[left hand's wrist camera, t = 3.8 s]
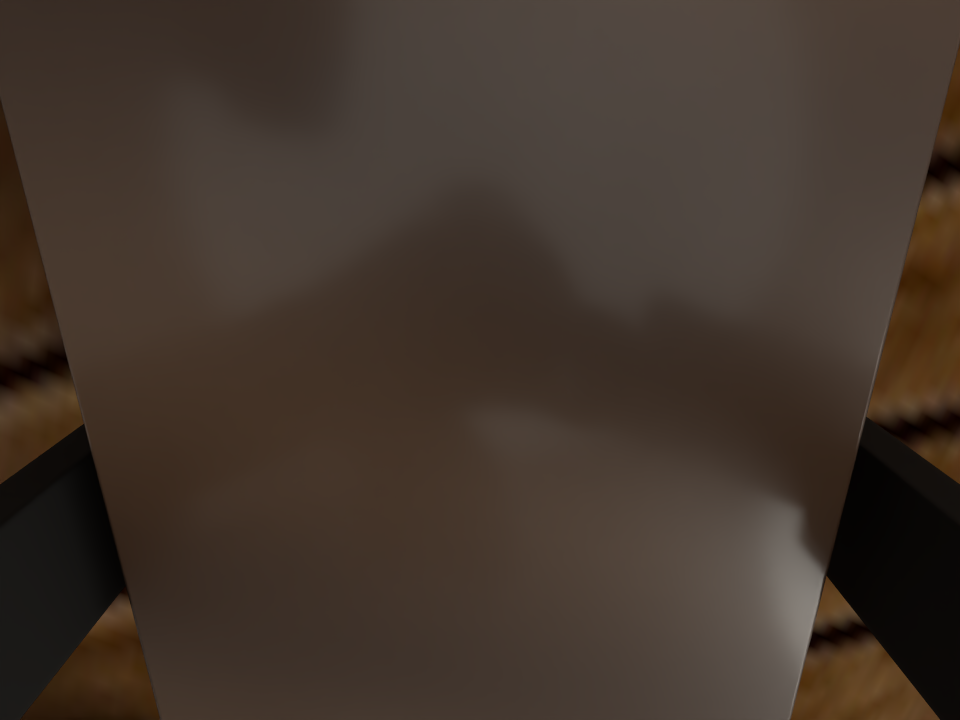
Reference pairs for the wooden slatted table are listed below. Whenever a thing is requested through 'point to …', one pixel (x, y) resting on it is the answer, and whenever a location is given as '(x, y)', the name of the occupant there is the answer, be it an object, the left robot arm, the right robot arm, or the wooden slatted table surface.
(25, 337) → the wooden slatted table surface
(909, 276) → the wooden slatted table surface
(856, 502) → the left robot arm
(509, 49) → the cabinet
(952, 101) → the wooden slatted table surface
